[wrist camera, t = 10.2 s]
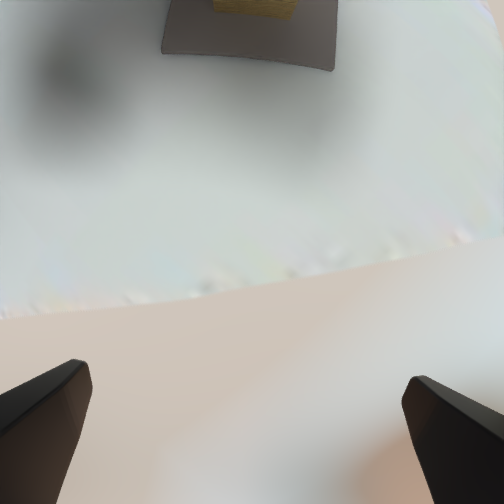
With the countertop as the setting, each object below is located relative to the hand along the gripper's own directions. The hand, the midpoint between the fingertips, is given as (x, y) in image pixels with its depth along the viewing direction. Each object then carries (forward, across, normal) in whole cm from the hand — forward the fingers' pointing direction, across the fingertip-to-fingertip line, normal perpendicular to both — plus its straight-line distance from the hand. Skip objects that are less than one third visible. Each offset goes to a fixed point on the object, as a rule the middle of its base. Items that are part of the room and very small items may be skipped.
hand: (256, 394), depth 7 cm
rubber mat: (+12, +1, -17) cm, 21 cm away
